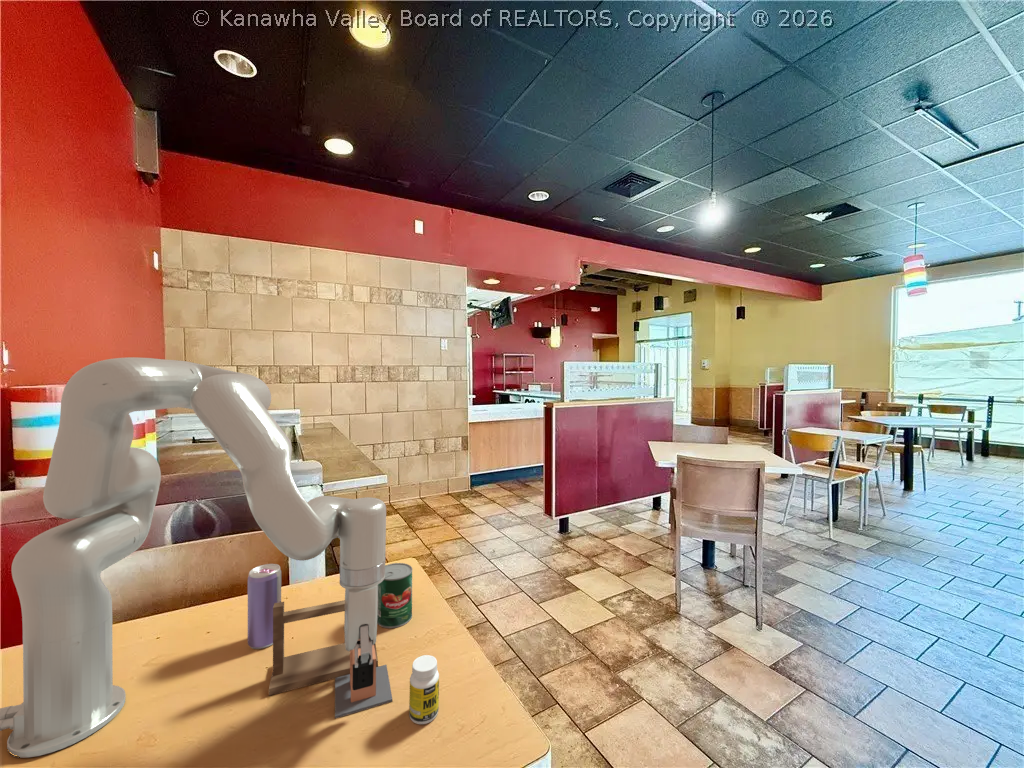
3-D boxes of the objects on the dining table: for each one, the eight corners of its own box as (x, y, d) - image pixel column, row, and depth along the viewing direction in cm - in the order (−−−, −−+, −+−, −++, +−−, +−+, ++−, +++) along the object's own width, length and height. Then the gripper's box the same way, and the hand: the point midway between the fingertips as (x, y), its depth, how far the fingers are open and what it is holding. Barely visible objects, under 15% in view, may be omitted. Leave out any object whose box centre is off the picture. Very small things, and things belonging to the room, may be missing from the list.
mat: (334, 718, 65) (334, 716, 65) (335, 680, 73) (335, 678, 73) (392, 701, 69) (392, 699, 69) (386, 666, 77) (386, 664, 77)
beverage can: (265, 652, 81) (265, 578, 80) (240, 648, 82) (240, 574, 82) (287, 634, 86) (287, 564, 86) (263, 630, 88) (264, 561, 87)
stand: (268, 695, 70) (269, 617, 70) (275, 665, 77) (275, 594, 77) (377, 666, 77) (378, 596, 77) (374, 641, 84) (374, 577, 84)
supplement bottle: (424, 730, 63) (424, 677, 63) (403, 717, 66) (403, 666, 66) (444, 709, 67) (445, 659, 67) (424, 697, 70) (424, 649, 70)
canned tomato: (397, 604, 98) (397, 559, 98) (419, 615, 94) (419, 568, 93) (369, 620, 92) (369, 572, 92) (391, 633, 87) (391, 582, 87)
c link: (350, 702, 68) (351, 665, 68) (349, 681, 73) (350, 646, 73) (375, 695, 70) (376, 658, 69) (373, 674, 74) (373, 640, 74)
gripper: (339, 554, 77) (337, 642, 77) (340, 600, 61) (338, 711, 62) (380, 548, 80) (378, 633, 80) (391, 590, 64) (389, 696, 65)
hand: (361, 667), depth 71 cm, fingers open, 9 cm apart
